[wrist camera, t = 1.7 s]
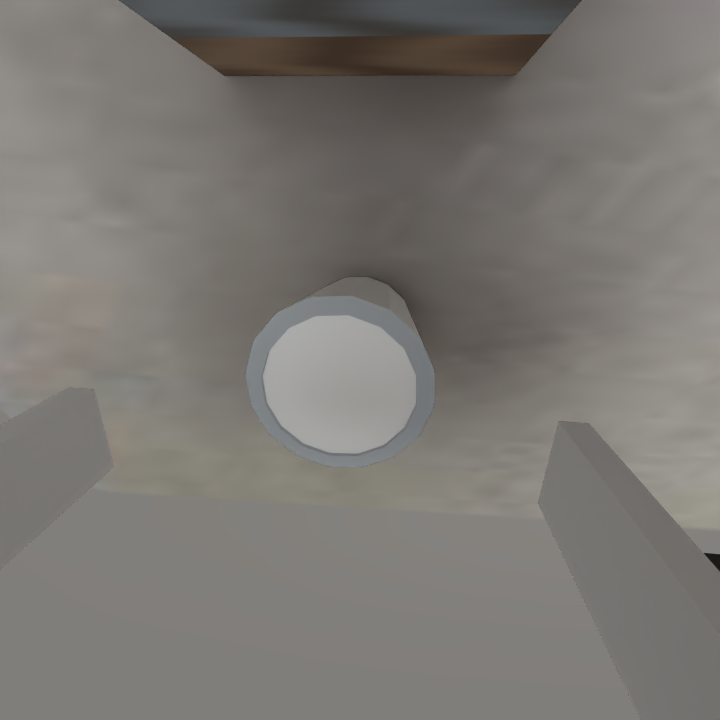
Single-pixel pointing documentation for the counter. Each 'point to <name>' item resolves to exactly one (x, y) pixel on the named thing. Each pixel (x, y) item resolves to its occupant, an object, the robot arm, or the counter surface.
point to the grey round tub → (342, 375)
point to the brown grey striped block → (358, 34)
